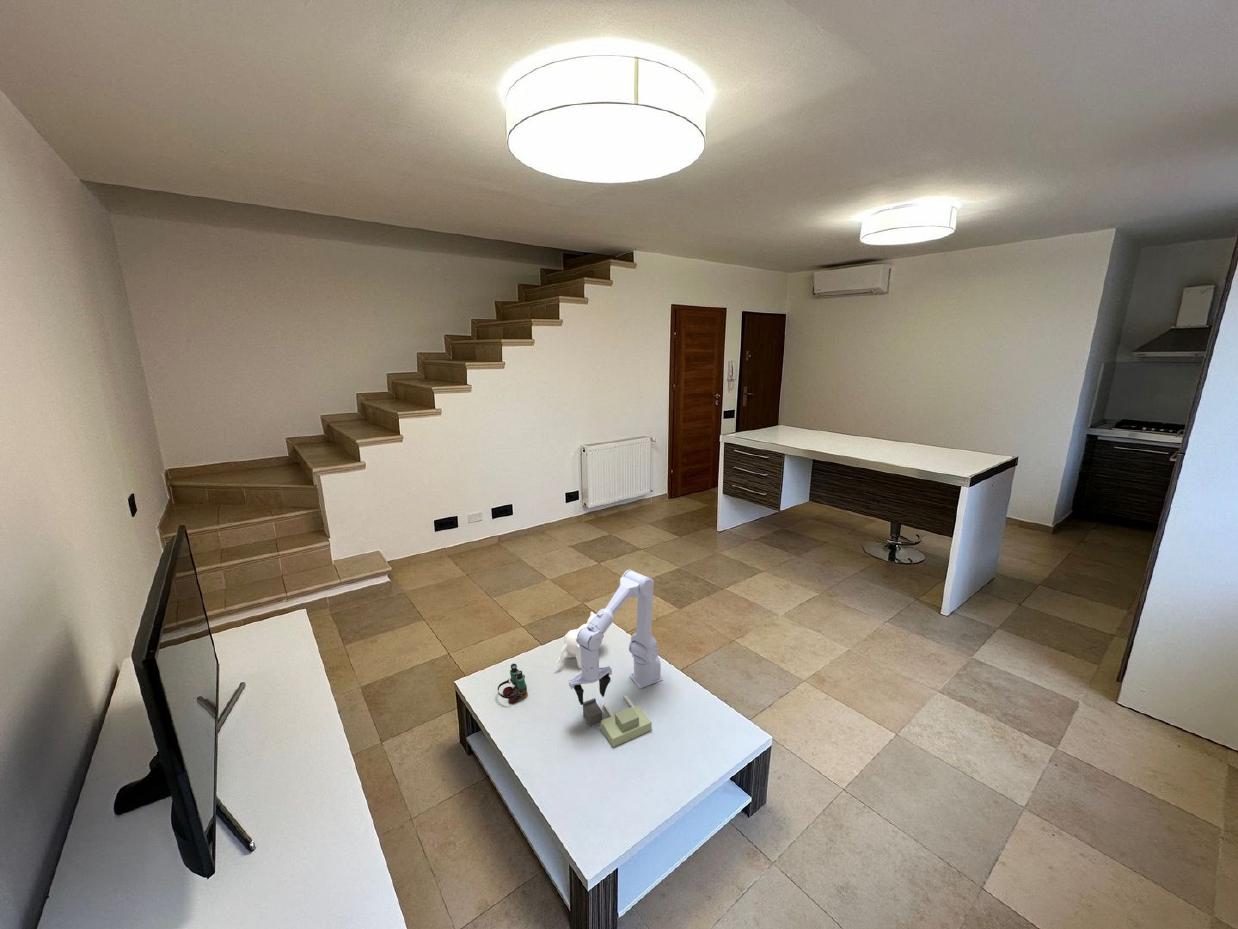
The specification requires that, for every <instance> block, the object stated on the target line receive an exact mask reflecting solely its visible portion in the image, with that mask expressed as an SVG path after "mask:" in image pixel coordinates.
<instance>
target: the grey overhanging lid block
mask: <svg viewBox="0 0 1238 929" xmlns="http://www.w3.org/2000/svg"><path fill="white" fill-rule="evenodd" d="M603 713H604V712H603V711H602V709H601V707H600V706H599V704H598V703H597V699H596V697H594V698H591V699H588V700H586V701H583V705H582V715H583V717H584V719H585V720H586V722H587V724H588V725H589V727H590V728H591V727H593V726H594V727H595V726H596V725H598V724H601V721H602V720H604V717H603Z"/></svg>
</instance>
